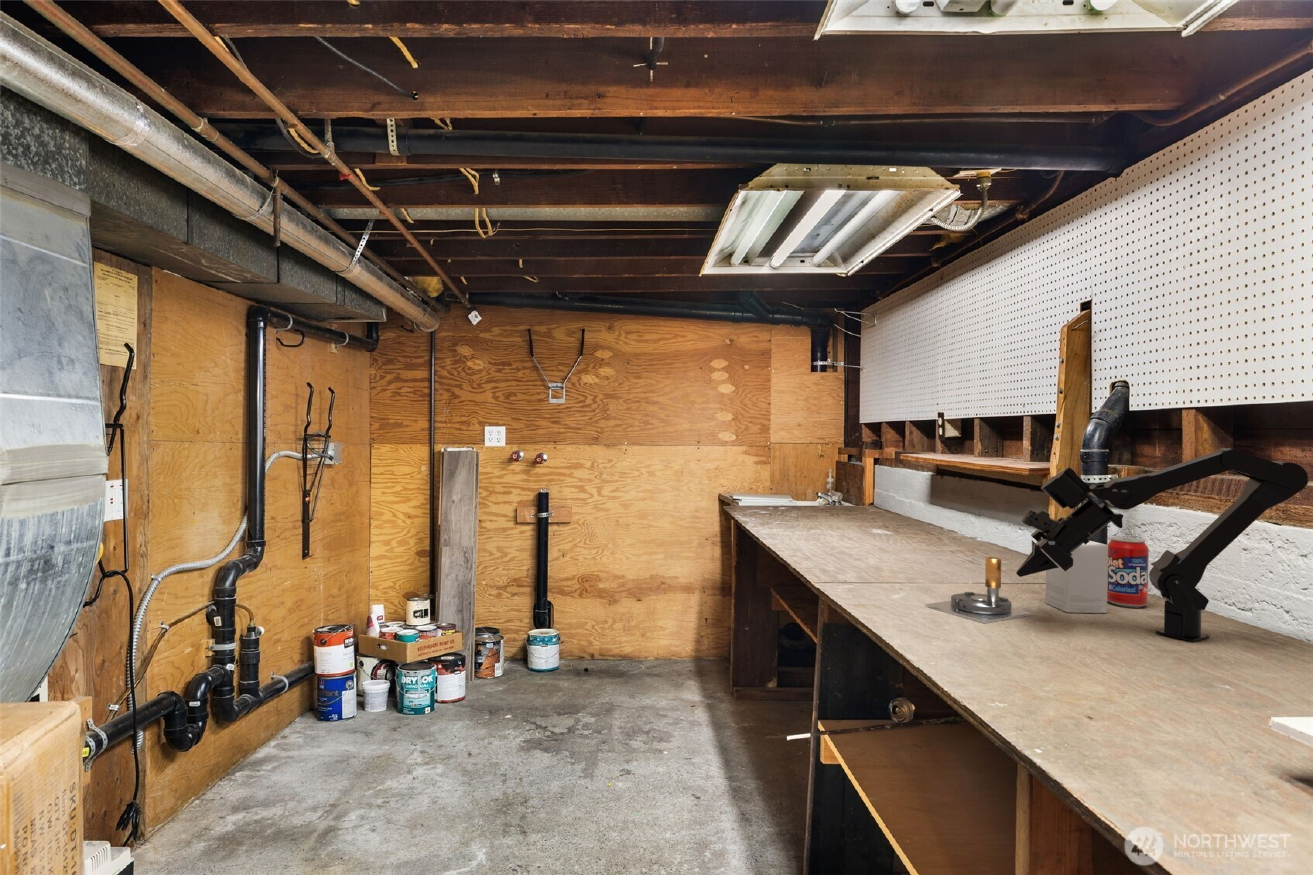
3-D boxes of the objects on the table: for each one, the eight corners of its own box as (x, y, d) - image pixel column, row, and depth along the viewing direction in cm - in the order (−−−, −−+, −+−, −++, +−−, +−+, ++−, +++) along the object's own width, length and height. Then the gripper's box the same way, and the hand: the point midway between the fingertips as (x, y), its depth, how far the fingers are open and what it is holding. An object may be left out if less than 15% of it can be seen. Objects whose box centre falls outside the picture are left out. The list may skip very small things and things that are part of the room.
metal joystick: (993, 600, 159) (994, 549, 158) (1024, 615, 146) (1025, 559, 146) (941, 600, 158) (942, 549, 158) (968, 614, 146) (969, 559, 145)
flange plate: (971, 599, 162) (971, 586, 162) (1031, 615, 149) (1032, 600, 149) (925, 606, 155) (925, 592, 155) (984, 623, 142) (984, 608, 142)
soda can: (1141, 602, 161) (1143, 537, 161) (1152, 610, 154) (1153, 542, 154) (1102, 599, 164) (1103, 535, 164) (1110, 606, 157) (1112, 540, 156)
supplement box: (1108, 614, 150) (1110, 544, 150) (1066, 613, 151) (1068, 544, 150) (1083, 603, 160) (1084, 538, 159) (1044, 602, 160) (1045, 537, 159)
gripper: (1043, 492, 152) (986, 539, 156) (1055, 500, 135) (990, 552, 139) (1084, 531, 149) (1024, 577, 153) (1102, 544, 132) (1034, 596, 136)
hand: (1017, 574), depth 145 cm, fingers closed
